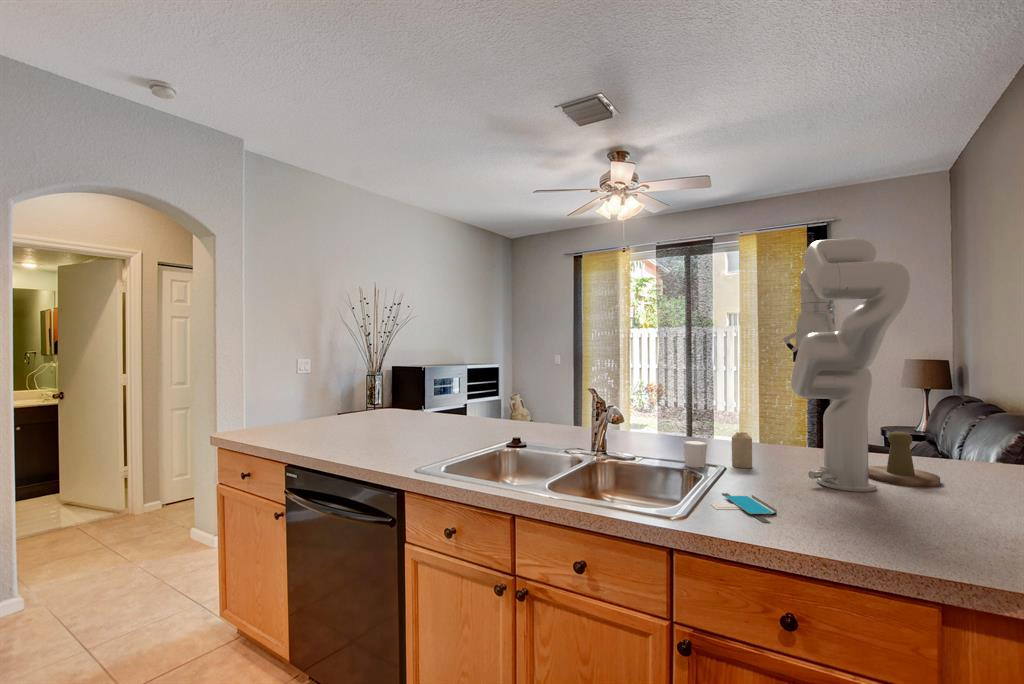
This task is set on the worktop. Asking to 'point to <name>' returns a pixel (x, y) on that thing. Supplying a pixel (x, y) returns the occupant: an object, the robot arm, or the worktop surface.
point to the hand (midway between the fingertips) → (815, 364)
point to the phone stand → (747, 506)
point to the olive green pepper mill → (900, 454)
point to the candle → (741, 450)
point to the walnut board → (904, 477)
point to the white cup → (695, 453)
